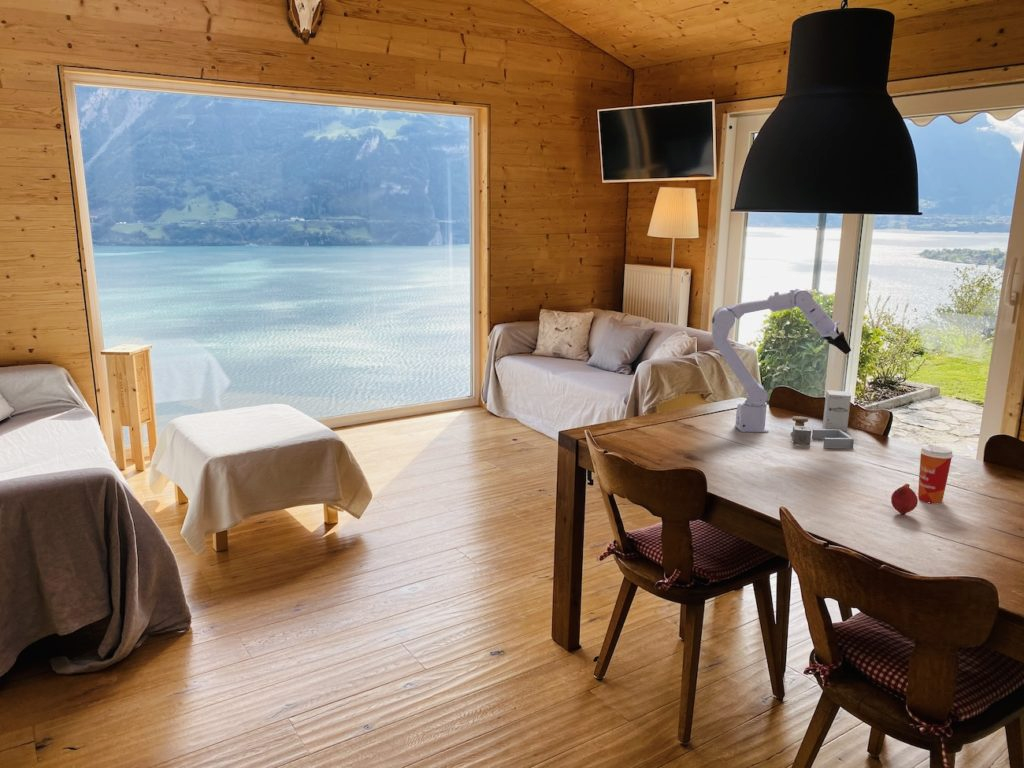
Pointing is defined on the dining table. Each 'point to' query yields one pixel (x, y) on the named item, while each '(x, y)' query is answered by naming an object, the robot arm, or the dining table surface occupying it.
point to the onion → (904, 499)
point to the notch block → (833, 438)
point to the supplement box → (836, 410)
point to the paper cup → (933, 472)
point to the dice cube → (801, 435)
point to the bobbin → (799, 421)
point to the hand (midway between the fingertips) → (845, 350)
